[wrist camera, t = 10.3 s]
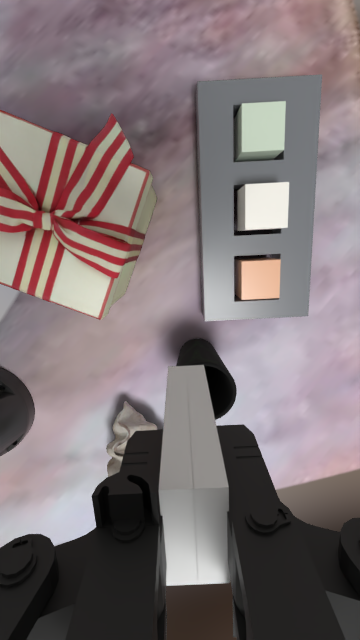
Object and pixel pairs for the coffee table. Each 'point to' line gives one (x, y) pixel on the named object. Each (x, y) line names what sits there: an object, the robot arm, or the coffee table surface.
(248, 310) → the key panel
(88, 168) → the gift box
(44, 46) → the coffee table surface
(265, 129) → the sage key
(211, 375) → the cup
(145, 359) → the coffee table surface
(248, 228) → the ivory key
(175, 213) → the coffee table surface
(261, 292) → the peach cube
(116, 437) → the seashell
